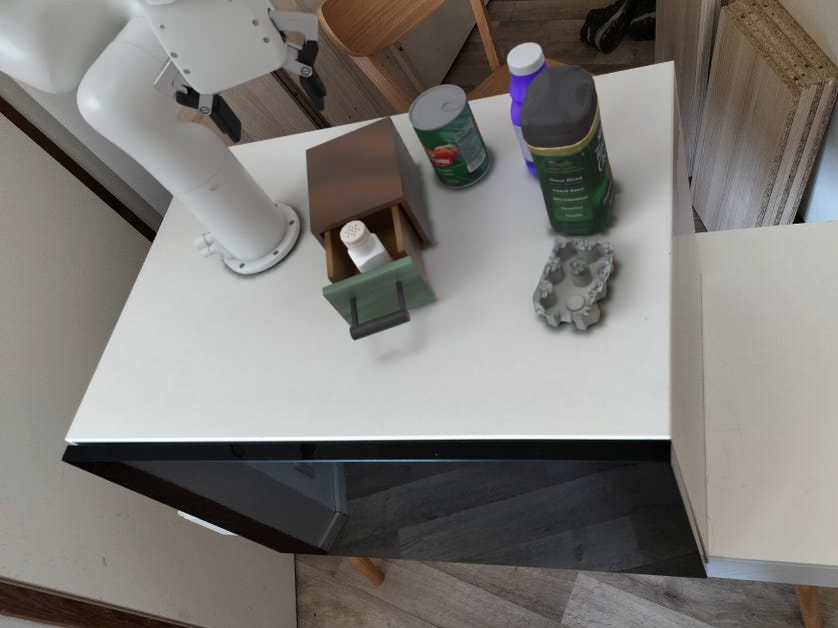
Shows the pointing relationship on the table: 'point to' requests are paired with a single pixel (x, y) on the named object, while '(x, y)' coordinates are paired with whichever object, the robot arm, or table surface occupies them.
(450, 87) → the canned tomato
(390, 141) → the cabinet
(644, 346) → the table surface
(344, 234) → the salt shaker
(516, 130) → the bottle
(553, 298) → the egg carton
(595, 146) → the coffee jar
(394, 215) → the drawer
